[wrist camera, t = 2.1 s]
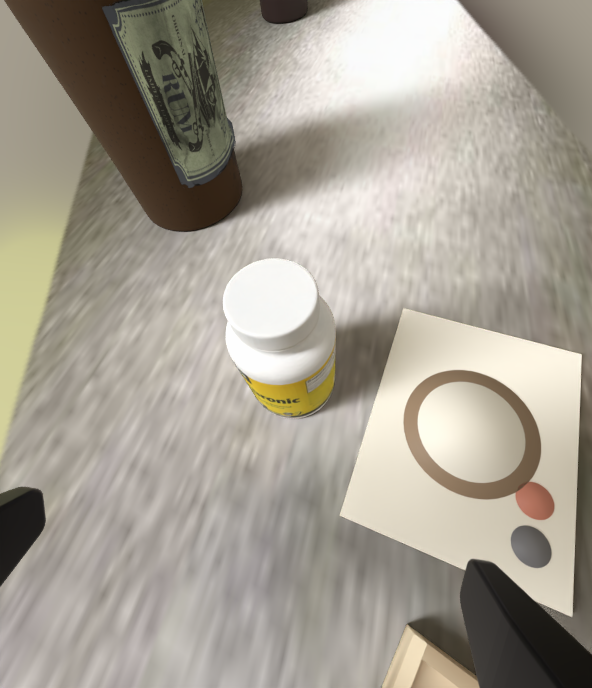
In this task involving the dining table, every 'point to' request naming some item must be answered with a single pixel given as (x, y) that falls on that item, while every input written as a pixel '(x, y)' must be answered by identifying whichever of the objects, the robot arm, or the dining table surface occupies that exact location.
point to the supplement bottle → (281, 336)
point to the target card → (475, 453)
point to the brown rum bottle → (146, 98)
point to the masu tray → (425, 666)
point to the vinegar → (283, 10)
